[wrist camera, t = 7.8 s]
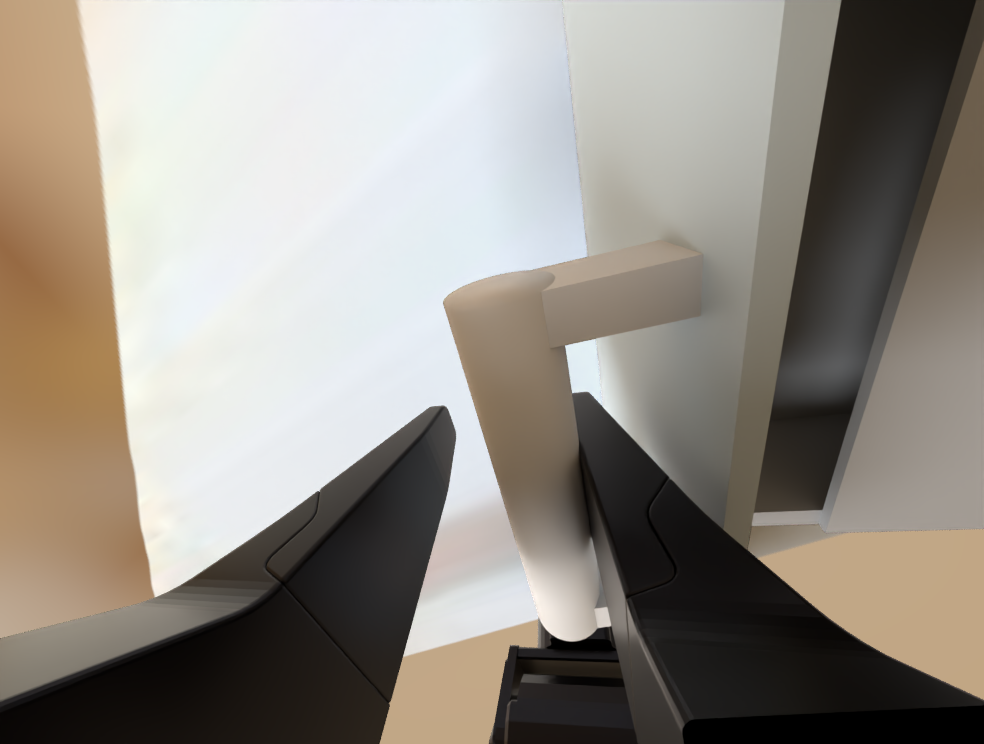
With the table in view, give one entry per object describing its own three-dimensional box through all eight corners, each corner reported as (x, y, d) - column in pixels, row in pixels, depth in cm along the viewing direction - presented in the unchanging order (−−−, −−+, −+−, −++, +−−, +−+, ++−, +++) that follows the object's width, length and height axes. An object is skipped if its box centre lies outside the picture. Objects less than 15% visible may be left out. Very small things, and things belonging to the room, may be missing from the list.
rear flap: (713, 749, 9) (573, 764, 10) (624, 527, 15) (539, 541, 16) (1039, -1165, 1) (88, -648, 2) (577, -42, 7) (404, 13, 8)
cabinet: (902, 413, 17) (1066, 526, 12) (606, 439, 21) (628, 538, 15) (1118, -151, 9) (1989, -634, 4) (566, 37, 12) (583, -69, 7)
